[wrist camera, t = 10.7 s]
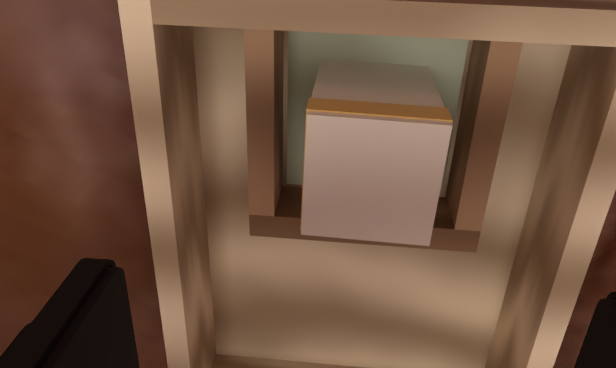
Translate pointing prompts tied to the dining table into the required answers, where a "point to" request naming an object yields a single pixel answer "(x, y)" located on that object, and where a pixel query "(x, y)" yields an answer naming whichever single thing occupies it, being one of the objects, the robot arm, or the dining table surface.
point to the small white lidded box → (373, 152)
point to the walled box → (360, 253)
